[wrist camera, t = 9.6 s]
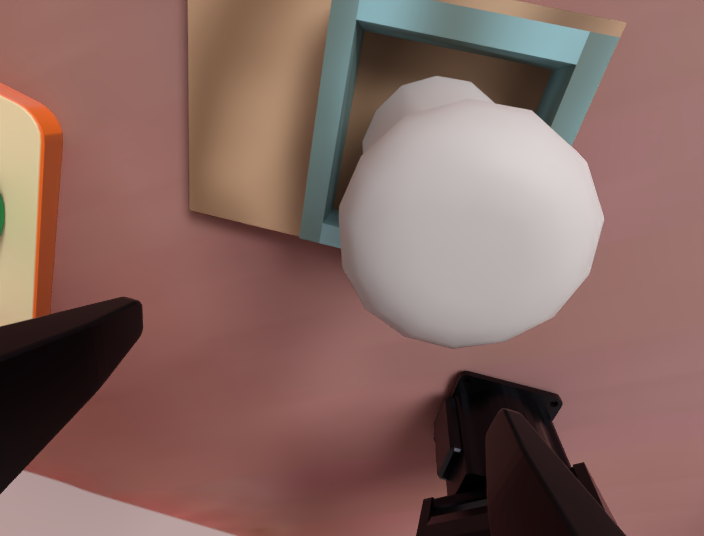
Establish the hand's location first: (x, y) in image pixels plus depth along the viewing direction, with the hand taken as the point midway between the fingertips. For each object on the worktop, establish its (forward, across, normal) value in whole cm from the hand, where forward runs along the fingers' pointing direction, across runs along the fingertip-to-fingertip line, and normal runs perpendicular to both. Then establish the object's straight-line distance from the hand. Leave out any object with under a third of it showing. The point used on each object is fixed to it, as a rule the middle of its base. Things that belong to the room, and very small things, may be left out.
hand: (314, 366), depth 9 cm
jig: (+13, +1, -4) cm, 13 cm away
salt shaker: (+12, -2, -4) cm, 13 cm away
